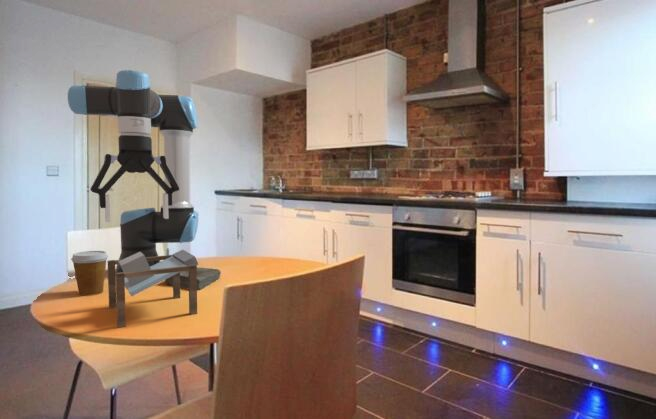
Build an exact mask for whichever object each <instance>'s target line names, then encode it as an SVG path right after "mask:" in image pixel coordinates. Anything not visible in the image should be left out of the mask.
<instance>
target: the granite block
mask: <svg viewBox="0 0 656 419" xmlns="http://www.w3.org/2000/svg"><path fill="white" fill-rule="evenodd" d="M118 262H119V264H120V266H121V268H122V270H123V272H124V273H127V272H136V271H145V270H151V268H150V266H149V264H148V262H147V260H146V258H145V256H144V254H142V253H141V252H138V253H136V254H134V255H131V256H129V257H127V258H125V259H123V260H120V261H118ZM152 276H154V275H147V276H138V277H130V278H127V280H128V282H129V283H130V285H131V286H134V285H136V284H138V283H140V282H142V281H144V280H146V279H148V278H150V277H152Z"/></svg>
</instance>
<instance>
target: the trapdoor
mask: <svg viewBox="0 0 656 419" xmlns="http://www.w3.org/2000/svg"><path fill="white" fill-rule="evenodd" d="M192 264H195V265H197V266H198V265H199V262H198V259H197V257H196V255H193V254H192V253H190V252H188V251H186V250H185V249H181V250H179V251H177V252H174V253H173V256H171V257H169V258H167V259H165V260H160V262H159V263H157V264H155V265H153V266H151V267H150V268H151V270H154V269H162V268H171V267H180V266H188V265H192ZM180 272H181V271H180ZM177 273H179V272H172V273H163V274H155V275H154V276H152V277H150V278H148V279H146V280H144V281H142V282H140V283H138V284H136V285H134V286H131V285H130V283H129V282H128V280H127V278H124V280H125V290H126V291H127V292H128V293H129V295H130V296H131V297H134V296H135V295H137V294H140V293H141V292H144V291H145V290H147V289H149V288H152V287H153V286H155V285H158V284H159V283H161V282H164V281H165V279H167V278H169V277H171V276H173V275H175V274H177Z"/></svg>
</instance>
